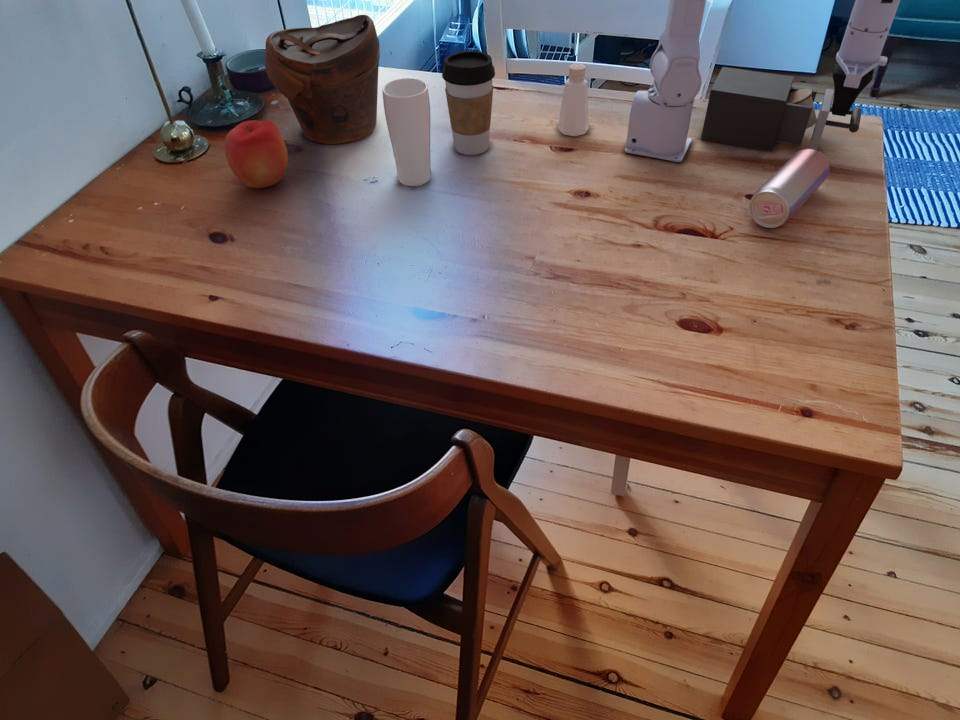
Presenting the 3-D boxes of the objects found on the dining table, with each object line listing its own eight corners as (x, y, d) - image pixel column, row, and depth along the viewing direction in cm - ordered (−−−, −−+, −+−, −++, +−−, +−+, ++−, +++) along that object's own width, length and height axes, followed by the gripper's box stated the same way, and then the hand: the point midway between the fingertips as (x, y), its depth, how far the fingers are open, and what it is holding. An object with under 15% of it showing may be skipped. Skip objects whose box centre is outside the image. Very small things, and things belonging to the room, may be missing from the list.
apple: (300, 167, 117) (287, 109, 110) (288, 199, 111) (273, 139, 103) (243, 168, 118) (226, 111, 111) (227, 200, 111) (208, 140, 104)
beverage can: (833, 183, 106) (792, 229, 98) (793, 185, 110) (751, 229, 103) (829, 145, 104) (786, 188, 96) (788, 149, 108) (744, 191, 100)
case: (261, 136, 126) (233, 31, 113) (345, 96, 136) (329, -4, 123) (327, 167, 117) (305, 58, 104) (412, 122, 127) (401, 17, 115)
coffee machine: (780, 125, 122) (794, 76, 116) (772, 151, 116) (786, 101, 110) (712, 115, 126) (722, 66, 120) (700, 139, 120) (710, 89, 114)
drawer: (852, 134, 118) (867, 94, 113) (848, 157, 112) (863, 116, 108) (757, 118, 123) (767, 79, 118) (748, 140, 117) (759, 101, 112)
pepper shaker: (590, 136, 122) (595, 72, 114) (558, 136, 122) (561, 73, 114) (587, 121, 126) (592, 58, 118) (556, 122, 126) (559, 59, 118)
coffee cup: (438, 154, 119) (431, 64, 108) (458, 131, 125) (453, 44, 114) (485, 162, 117) (482, 71, 106) (503, 138, 122) (502, 50, 112)
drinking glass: (443, 173, 115) (436, 81, 104) (423, 194, 110) (414, 100, 100) (406, 165, 117) (396, 74, 106) (385, 185, 112) (372, 93, 102)
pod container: (784, 135, 116) (777, 106, 114) (789, 122, 119) (782, 94, 117) (816, 127, 113) (809, 98, 111) (820, 114, 116) (813, 85, 114)
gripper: (896, 47, 98) (862, 138, 108) (900, 11, 107) (868, 98, 117) (842, 40, 100) (813, 130, 110) (850, 6, 110) (823, 92, 119)
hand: (838, 113), depth 114 cm, fingers closed, pressing on drawer
